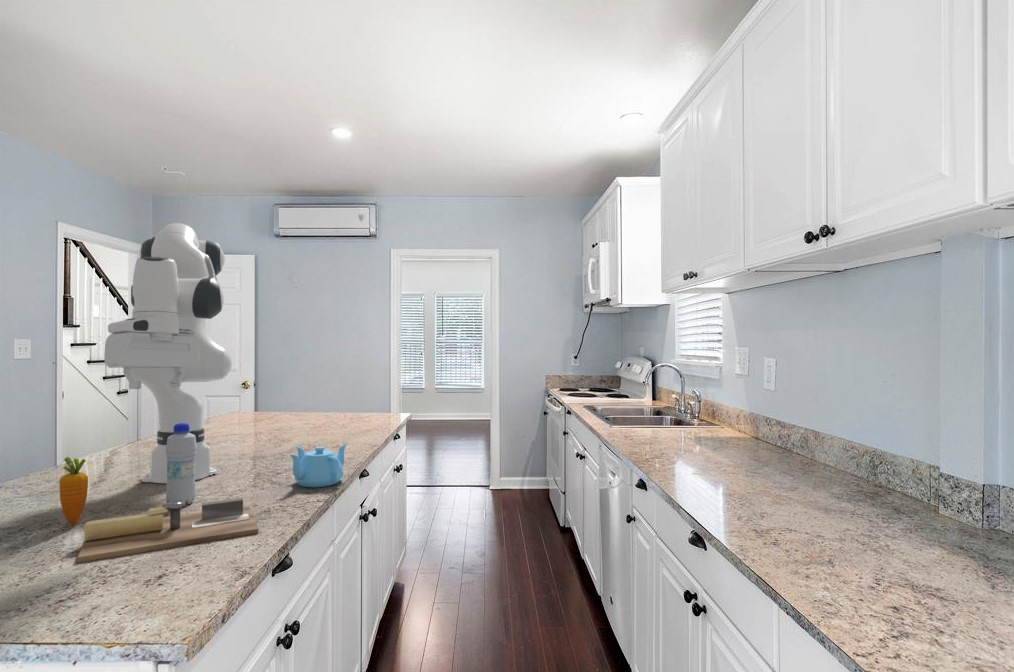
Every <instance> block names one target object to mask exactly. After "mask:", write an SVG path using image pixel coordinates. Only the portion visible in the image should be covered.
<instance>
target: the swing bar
mask: <svg viewBox="0 0 1014 672" xmlns="http://www.w3.org/2000/svg"><path fill="white" fill-rule="evenodd" d="M186 505H187V504H186V501H184V500H177V501H171V502H168V503H167V502H166V503H165V506H159V507H152V508H149V510H148V513H143V514H135V515H134V514H133V515H127V516H119V517H118V516H117V517H112V518H103V519H96V520H90V521H85V523H84V529H83V530H84V531H83V532H84V537H83V538H84V539H83V540H84V542H85V541H86V540H93V539H100V538H107V537H113V536H120V535H127V534H134V533H141V532H147V531H154V530H161V529H163V518H164V513H168V512H169V511H170V510H178V509H180V510H182V509H184V508H186Z"/></svg>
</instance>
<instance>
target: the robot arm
mask: <svg viewBox="0 0 1014 672" xmlns="http://www.w3.org/2000/svg"><path fill="white" fill-rule="evenodd" d="M197 235H198V234H196V231H195V230H194V229H193V228H192V227H190V226H189V225H187V224H184V223H181V222H172V223H169V224H167V225H166V226H164V227H163V228H162V229H161V230H160V231H158V233H157V235H156V236H153V237H152V238H148V239H146V240H145V241H143V242H142V244H141V247H140V250H139V257H138V258H137V259H136V261H135V264H134V265H135V266H134V270H133V275H132V276H133V277H132V285H131V286H130V302H131V305H132V307H133V309H132V312H131V315H132V318H127V319H125V320H120V321H116V322H111V323H109V324H108V325H107V331H108V333H110V334H109V335H108V336H107V338H106V340H105V345H104V354H103V355H104V358H103V359H104V363H105V365H106V366H107V367H108V368H112V369H116V368H118V369H119V368H121V369H123V374H124V377H125V378H126V380H127V381H128V388H129V390H139V389H142V384H143V385H144V386H145V387H146V388H147V389H148V390H149V391H150V392H151V393H152V395H153V397H154V398H155V401H156V405H157V408H158V409H157V410H158V422H159V423H158V427H159V428H158V431H157V432H156V443H157V446H156V447H155V448H154V449H153V450H152V451H151V452H150V455H149V456H150V457H149V459H150V460H149V461H150V465H149V472H148V473H146V475H144V476H143V477H142V478H141V482H142V483H153V484H154V483H155V484H167V457H166V445H167V439H168V437H169V436H171V435H173V434H175V433H174V426H175V425H176V424H179V423H187V424H188V425H189V432H188V433H191V434H193V435H195V437H196V445H197V450H196V452H197V453H196V455H195V481H197V480H201V479H204V478H206V477H209V475H210V476H214V475H213V474H215V475H217V474H218V470H217V469H215V468H214V467H212V466H211V448H210V446H209V445H208V444H207V443H205V441H204V440H205V438H206V437H205V436H206V432H205V428H204V404H203V402H202V401H201V399H200V398H198V397H196V396H195V395H192V394H190V393H187V392H184V391H183V390H181V385H182V384H181V383H208V382H209V383H210V382H214V381H218V380H224V379H225V378H226V377H227V376H228V375H229V373H230V371H231V369H232V364H233V363H232V362H233V361H232V356H231V355H230V353H229V352H228V351H227V350H226V349H225V348H224V347H223V346H221V345H219V344H218V343H217V342H216V341H215V340H214V339H213V338H212V336H210V334H209V331H208V329H207V322H206V321H207V320H211V319H213V318H215V317H216V316H217V315H219V314H220V313H221V312H222V309H223V307H224V299H225V298H224V293H223V290H222V287H221V285H220V283H219V281H218V278H217V276H218V275H219V274H220V273H221V272H222V270H223V268H224V265H225V261H226V260H225V253H224V251H223V249H222V246H221V245H220V244H219V243H218V242H216V241H211V240H202V239H200V240H199V238H198V236H197ZM206 319H207V320H206Z"/></svg>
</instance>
